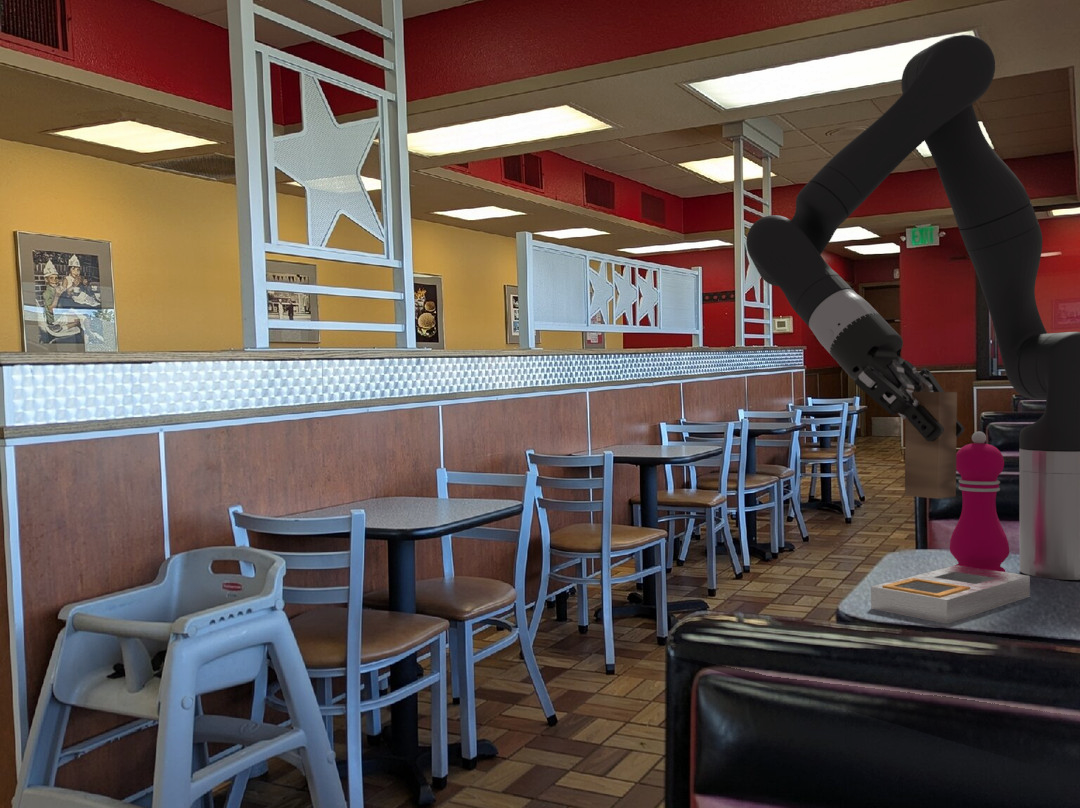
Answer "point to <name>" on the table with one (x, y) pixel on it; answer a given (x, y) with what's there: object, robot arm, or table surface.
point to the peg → (932, 450)
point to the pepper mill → (979, 508)
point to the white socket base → (950, 593)
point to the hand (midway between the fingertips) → (947, 435)
